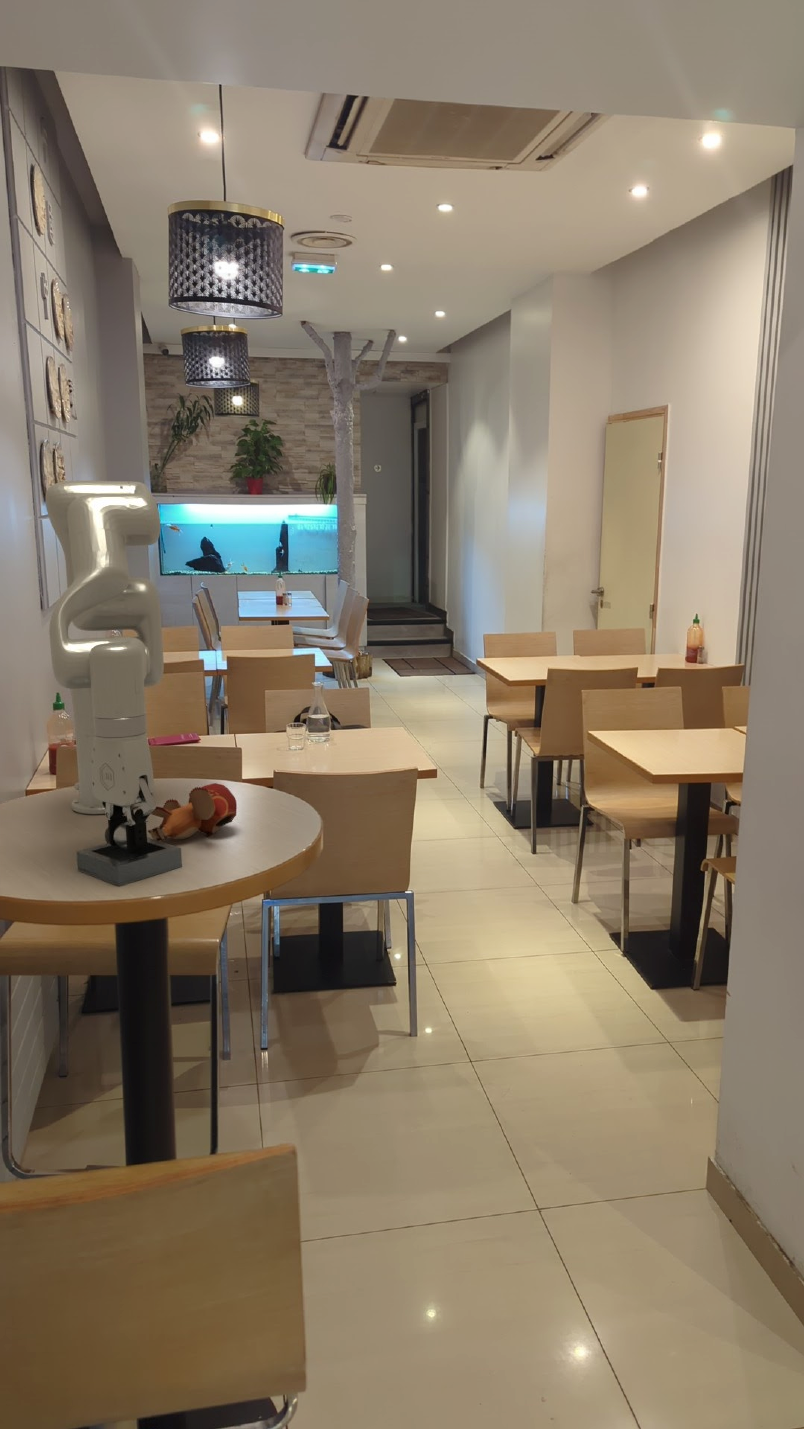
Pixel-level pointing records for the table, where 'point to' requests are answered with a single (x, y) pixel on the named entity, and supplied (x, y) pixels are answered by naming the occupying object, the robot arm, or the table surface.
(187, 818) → the figurine
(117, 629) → the robot arm
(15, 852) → the table surface
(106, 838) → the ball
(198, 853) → the table surface
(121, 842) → the steel ball
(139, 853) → the square metal tray
